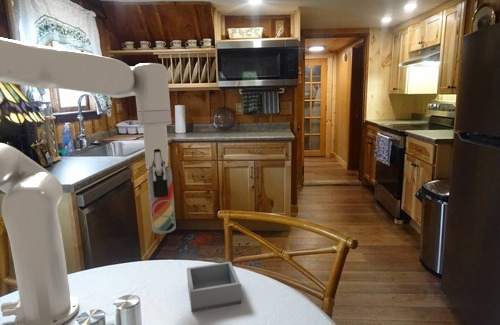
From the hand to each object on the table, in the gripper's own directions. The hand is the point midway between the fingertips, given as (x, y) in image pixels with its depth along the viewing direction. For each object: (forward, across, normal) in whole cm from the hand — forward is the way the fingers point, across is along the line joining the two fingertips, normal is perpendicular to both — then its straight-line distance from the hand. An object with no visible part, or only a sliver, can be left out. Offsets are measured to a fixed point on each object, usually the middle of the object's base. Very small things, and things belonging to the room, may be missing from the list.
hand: (161, 192), depth 81 cm
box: (+26, +6, +10) cm, 28 cm away
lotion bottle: (+10, 0, 0) cm, 10 cm away
